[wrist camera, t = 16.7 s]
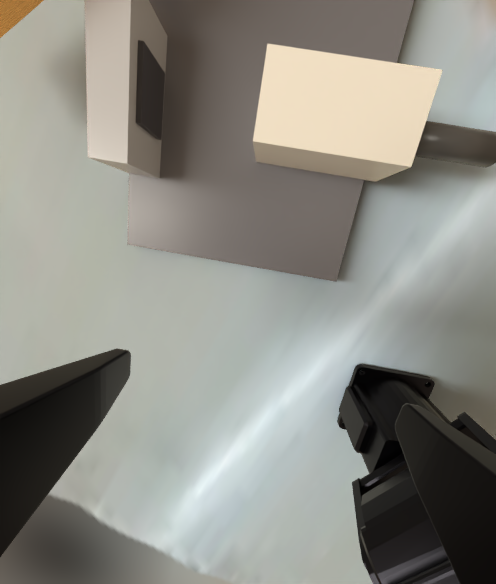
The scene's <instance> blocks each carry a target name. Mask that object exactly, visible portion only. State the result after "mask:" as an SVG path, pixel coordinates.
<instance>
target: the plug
mask: <svg viewBox="0 0 496 584" xmlns="http://www.w3.org/2000/svg"><path fill="white" fill-rule="evenodd" d="M441 74H442V70H439V69H433V68H426V67H420V66H413V65H406V64H400V63H393V62H387V61H380V60H373V59H367V58H360V57H354V56H347V55H340V54H334V53H327V52H320V51H314V50H307V49H301V48H294V47H287V46H281V45H274V44H268V43H267V50H266V57H265V63H264V70H263V77H262V83H261V90H260V97H259V103H258V110H257V117H256V123H255V130H254V136H253V146H254V152H255V158H256V162H260V163H266V164H272V165H278V166H284V167H290V168H296V169H302V170H308V171H314V172H320V173H326V174H332V175H338V176H344V177H350V178H357V179H363V180H369V181H375V182H376V181H378V180H381V179H383V178H386V177H388V176H391V175H393V174H395V173H398V172H400V171H403V170H405V169H408V168H410V167H411V166H412V163H413V160H414V157H415V156H419V157H425V158H431V159H437V160H443V161H450V162H456V163H462V164H468V165H474V166H480V167H488V166H491V165H493V164H494V163H496V132H493V131H486V130H480V129H474V128H467V127H461V126H455V125H448V124H442V123H436V122H429V121H426V120H427V117H428V114H429V111H430V108H431V104H432V101H433V98H434V95H435V92H436V89H437V86H438V83H439V80H440V77H441Z"/></svg>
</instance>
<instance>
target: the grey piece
mask: <svg viewBox="0 0 496 584" xmlns="http://www.w3.org/2000/svg"><path fill="white" fill-rule="evenodd" d="M413 2H414V0H85V40H86V90H87V139H88V157H89V158H91V159H94V160H97V161H99V162H102V163H104V164H107V165H109V166H112V167H115V168H117V169H120V170H122V171H125V172H127V173H129V196H128V239H127V244H128V245H134V246H139V247H145V248H150V249H156V250H162V251H167V252H173V253H179V254H184V255H190V256H195V257H201V258H207V259H212V260H218V261H224V262H229V263H235V264H241V265H246V266H252V267H257V268H263V269H269V270H274V271H280V272H286V273H291V274H297V275H303V276H308V277H314V278H319V279H325V280H331V281H336V280H337V277H338V273H339V270H340V266H341V262H342V259H343V255H344V252H345V248H346V244H347V241H348V237H349V234H350V230H351V226H352V223H353V219H354V215H355V212H356V208H357V205H358V201H359V197H360V194H361V190H362V187H363V183H364V180H363V179H357V178H350V177H344V176H338V175H332V174H326V173H320V172H314V171H308V170H302V169H296V168H290V167H284V166H278V165H272V164H266V163H260V162H256V158H255V152H254V146H253V136H254V130H255V123H256V117H257V110H258V103H259V97H260V90H261V83H262V77H263V70H264V63H265V57H266V50H267V43H268V44H274V45H281V46H287V47H294V48H301V49H307V50H314V51H320V52H327V53H334V54H340V55H347V56H354V57H360V58H367V59H373V60H380V61H387V62H393V63H397V60H398V57H399V53H400V49H401V46H402V42H403V39H404V35H405V31H406V28H407V24H408V21H409V17H410V13H411V10H412V6H413Z"/></svg>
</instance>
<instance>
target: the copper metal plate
mask: <svg viewBox="0 0 496 584" xmlns="http://www.w3.org/2000/svg"><path fill="white" fill-rule="evenodd" d="M42 1H43V0H0V38H1V37H2V36H3V35H4V34H5V33H7V32H8V31H9V30H10V29H11V28H12V27H13V26H15V25H16V24H17V23H18V22H19V21H20V20H22V19H23V18H24V17H25V16H26V15H27V14H28V13H30V12H31V11H32V10H33V9H34V8H35V7H37V6H38V5H39V4H40V3H41V2H42Z"/></svg>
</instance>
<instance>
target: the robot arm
mask: <svg viewBox="0 0 496 584" xmlns="http://www.w3.org/2000/svg"><path fill="white" fill-rule="evenodd" d="M130 364H131V354H130V352H129V351H128V350H123V349H114V350H111V351H108V352H104V353H101V354H98V355H95V356H92V357H88V358H85V359H82V360H79V361H76V362H72V363H69V364H66V365H63V366H60V367H56V368H53V369H50V370H47V371H44V372H40V373H37V374H34V375H31V376H28V377H24V378H21V379H18V380H15V381H11V382H8V383H5V384H2V385H0V557H1V556H2V554H3V553H4V551H5V550H6V549H7V548H8V546H9V545H10V544H11V542H12V541H13V540H14V538H15V537H16V535H17V534H18V533H19V532H20V530H21V529H22V528H23V526H24V525H25V524H26V522H27V521H28V520H29V518H30V517H31V516H32V514H33V513H34V512H35V510H36V509H37V508H38V507H39V505H40V504H41V502H42V501H43V500H44V499H45V497H46V496H47V495H48V493H49V492H50V491H51V489H52V488H53V487H54V485H55V484H56V483H57V481H58V480H59V479H60V477H61V476H62V475H63V473H64V472H65V471H66V469H67V468H68V467H69V465H70V464H71V463H72V461H73V460H74V459H75V457H76V456H77V455H78V453H79V452H80V451H81V449H82V448H83V447H84V445H85V444H86V443H87V441H88V440H89V439H90V437H91V436H92V435H93V433H94V432H95V431H96V429H97V428H98V427H99V425H100V424H101V422H102V421H103V419H104V418H105V416H106V415H107V413H108V411H109V410H110V408H111V407H112V405H113V403H114V402H115V400H116V398H117V397H118V395H119V393H120V392H121V390H122V389H123V387H124V385H125V384H126V382H127V380H128V378H129V376H130ZM360 370H363V371H362V372H359V371H360ZM427 382H428V383H427ZM425 383H427V384H425ZM433 387H434V381H433V380H432V379H430V378H429V377H427V376H421V375H416V374H410V373H405V372H400V371H394V370H389V369H384V368H378V367H373V366H368V365H362V364H360V365H357V366H356V367H355V369H354V372H353V375H352V378H351V381H350V384H349V386H348V387H347V388H346V390H345V393H344V396H343V399H342V402H341V405H340V408H339V412H340V414H339V417H338V420H337V422H338V425H339V427H340V428H342V429H346V430H347V432H348V435H349V437H350V440H351V442H352V445H353V447H354V449H355V451H356V452H358V453H361V454H362V457H363V459H364V462H365V464H366V466H367V469H368V471H369V474H368V475H366V476H365V477H363V478H362V479H359V478H358V479H357V480H355V481H353V482H352V486H353V495H354V503H355V511H356V519H357V528H358V536H359V543H360V548H361V555H362V560H363V563H364V565H365V567H366V569H367V571H368V573H369V576H370V578H371V580H372V582H373V584H496V440H495V439H494V438H493V437H492V436H490V435H489V434H488V433H487V432H486V431H485V430H484V429H483V428H482V427H481V426H479V425H478V424H477V423H476V422H475V421H474V420H473V419H472V418H471V417H470V416H468V415H467V414H466V413H465V412H464V413H462V414H461V415H459V416H457V417H458V419H456V420H455V421H453V422H452V423H451V422H450V421H449V420H448V419H447V418H446V417H445V416H444V415H443V414H442V413H441V411H440V410H439V409H438V408H437V407H436V406H435V405H434V404H433V403H432V402H431V401H430V400H429V399H428V398H429V396H430V394H431V392H432V389H433ZM343 422H344V423H343Z"/></svg>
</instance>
